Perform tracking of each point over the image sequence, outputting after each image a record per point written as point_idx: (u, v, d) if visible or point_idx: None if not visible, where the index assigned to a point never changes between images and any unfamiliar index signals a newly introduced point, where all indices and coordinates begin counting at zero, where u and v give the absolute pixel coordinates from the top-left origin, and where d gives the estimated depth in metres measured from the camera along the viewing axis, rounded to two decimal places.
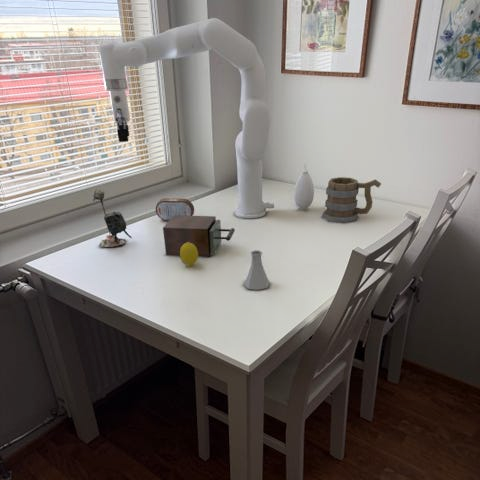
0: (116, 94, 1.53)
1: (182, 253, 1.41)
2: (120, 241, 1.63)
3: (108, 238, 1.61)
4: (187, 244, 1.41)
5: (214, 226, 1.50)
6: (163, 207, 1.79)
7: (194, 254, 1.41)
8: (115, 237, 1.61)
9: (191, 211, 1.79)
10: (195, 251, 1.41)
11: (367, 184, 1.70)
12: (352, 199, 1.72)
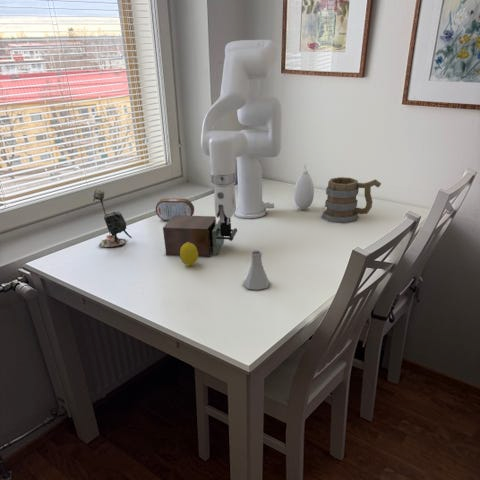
0: (220, 190, 1.40)
1: (182, 253, 1.41)
2: (120, 241, 1.63)
3: (108, 238, 1.61)
4: (187, 244, 1.41)
5: (217, 226, 1.50)
6: (163, 207, 1.79)
7: (194, 254, 1.41)
8: (115, 237, 1.61)
9: (191, 211, 1.79)
10: (195, 251, 1.41)
11: (367, 184, 1.70)
12: (352, 199, 1.72)
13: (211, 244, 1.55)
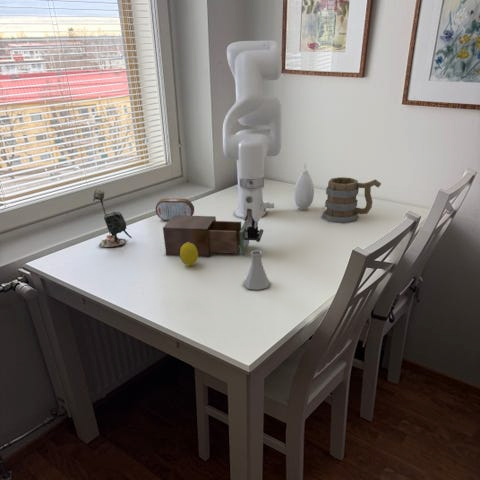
0: (249, 194, 1.39)
1: (182, 253, 1.41)
2: (120, 241, 1.63)
3: (108, 238, 1.61)
4: (187, 244, 1.41)
5: (244, 227, 1.48)
6: (163, 207, 1.79)
7: (194, 254, 1.41)
8: (115, 237, 1.61)
9: (191, 211, 1.79)
10: (195, 251, 1.41)
11: (367, 184, 1.70)
12: (352, 199, 1.72)
13: (237, 245, 1.53)
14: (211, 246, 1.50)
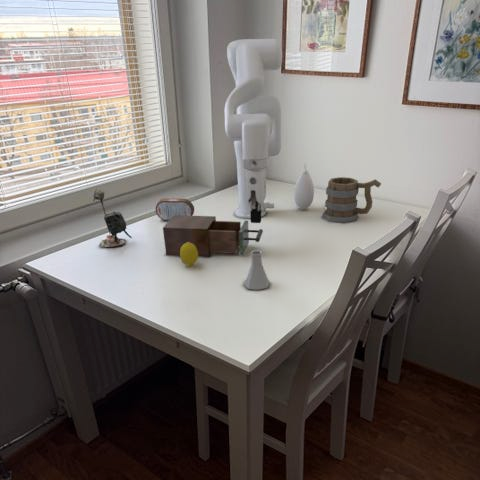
0: (252, 175, 1.36)
1: (182, 253, 1.41)
2: (120, 241, 1.63)
3: (108, 238, 1.61)
4: (187, 244, 1.41)
5: (243, 227, 1.48)
6: (163, 207, 1.79)
7: (194, 254, 1.41)
8: (115, 237, 1.61)
9: (191, 211, 1.79)
10: (195, 251, 1.41)
11: (367, 184, 1.70)
12: (352, 199, 1.72)
13: (236, 245, 1.53)
14: (211, 246, 1.50)
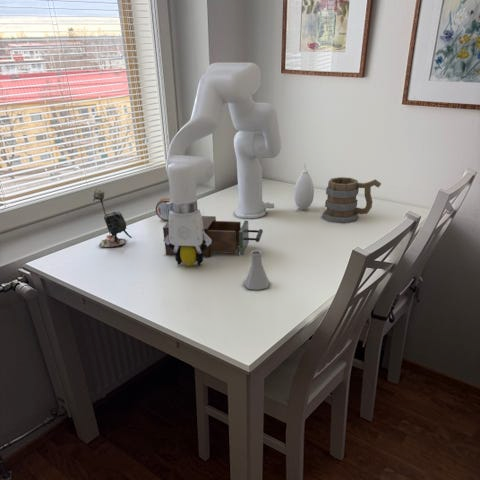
0: None
1: (182, 253, 1.41)
2: (120, 241, 1.63)
3: (108, 238, 1.61)
4: None
5: (243, 227, 1.48)
6: (163, 207, 1.79)
7: (194, 254, 1.41)
8: (115, 237, 1.61)
9: None
10: (195, 251, 1.41)
11: (367, 184, 1.70)
12: (352, 199, 1.72)
13: (236, 245, 1.53)
14: (211, 246, 1.50)
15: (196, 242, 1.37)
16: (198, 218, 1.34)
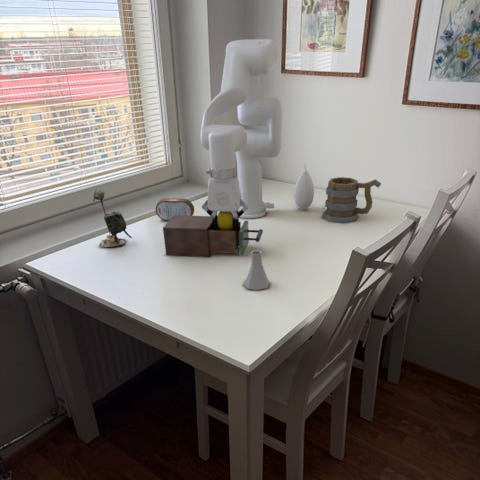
0: None
1: (219, 219, 1.47)
2: (120, 241, 1.63)
3: (108, 238, 1.61)
4: None
5: (243, 227, 1.48)
6: (163, 207, 1.79)
7: (231, 220, 1.48)
8: (115, 237, 1.61)
9: (191, 211, 1.79)
10: (232, 217, 1.48)
11: (367, 184, 1.70)
12: (352, 199, 1.72)
13: (236, 245, 1.53)
14: (211, 246, 1.50)
15: (234, 208, 1.44)
16: (236, 184, 1.41)
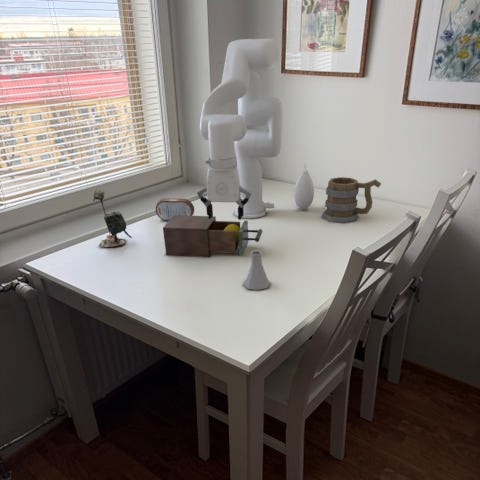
0: None
1: None
2: (120, 241, 1.63)
3: (108, 238, 1.61)
4: (235, 227, 1.47)
5: (242, 227, 1.48)
6: (163, 207, 1.79)
7: (237, 239, 1.49)
8: (115, 237, 1.61)
9: (191, 211, 1.79)
10: (238, 236, 1.49)
11: (367, 184, 1.70)
12: (352, 199, 1.72)
13: (236, 245, 1.53)
14: (210, 246, 1.50)
15: (233, 198, 1.42)
16: (236, 174, 1.39)
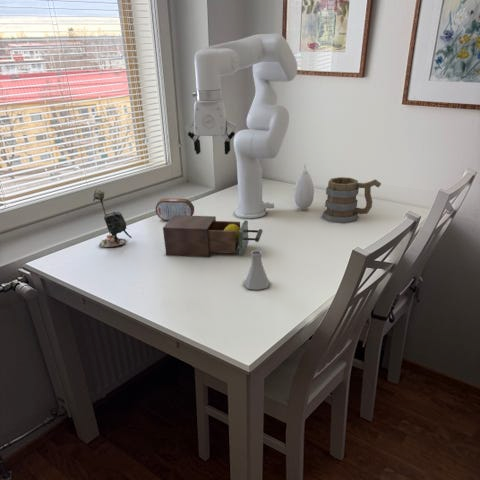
0: None
1: None
2: (120, 241, 1.63)
3: (108, 238, 1.61)
4: (235, 227, 1.47)
5: (242, 227, 1.48)
6: (163, 207, 1.79)
7: (237, 239, 1.49)
8: (115, 237, 1.61)
9: (191, 211, 1.79)
10: (238, 236, 1.49)
11: (367, 184, 1.70)
12: (352, 199, 1.72)
13: (236, 245, 1.53)
14: (210, 246, 1.50)
15: (220, 131, 1.46)
16: (222, 106, 1.43)
